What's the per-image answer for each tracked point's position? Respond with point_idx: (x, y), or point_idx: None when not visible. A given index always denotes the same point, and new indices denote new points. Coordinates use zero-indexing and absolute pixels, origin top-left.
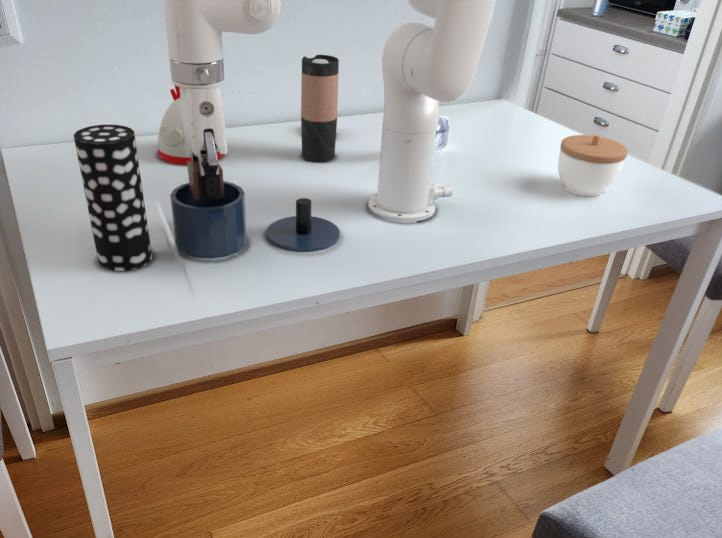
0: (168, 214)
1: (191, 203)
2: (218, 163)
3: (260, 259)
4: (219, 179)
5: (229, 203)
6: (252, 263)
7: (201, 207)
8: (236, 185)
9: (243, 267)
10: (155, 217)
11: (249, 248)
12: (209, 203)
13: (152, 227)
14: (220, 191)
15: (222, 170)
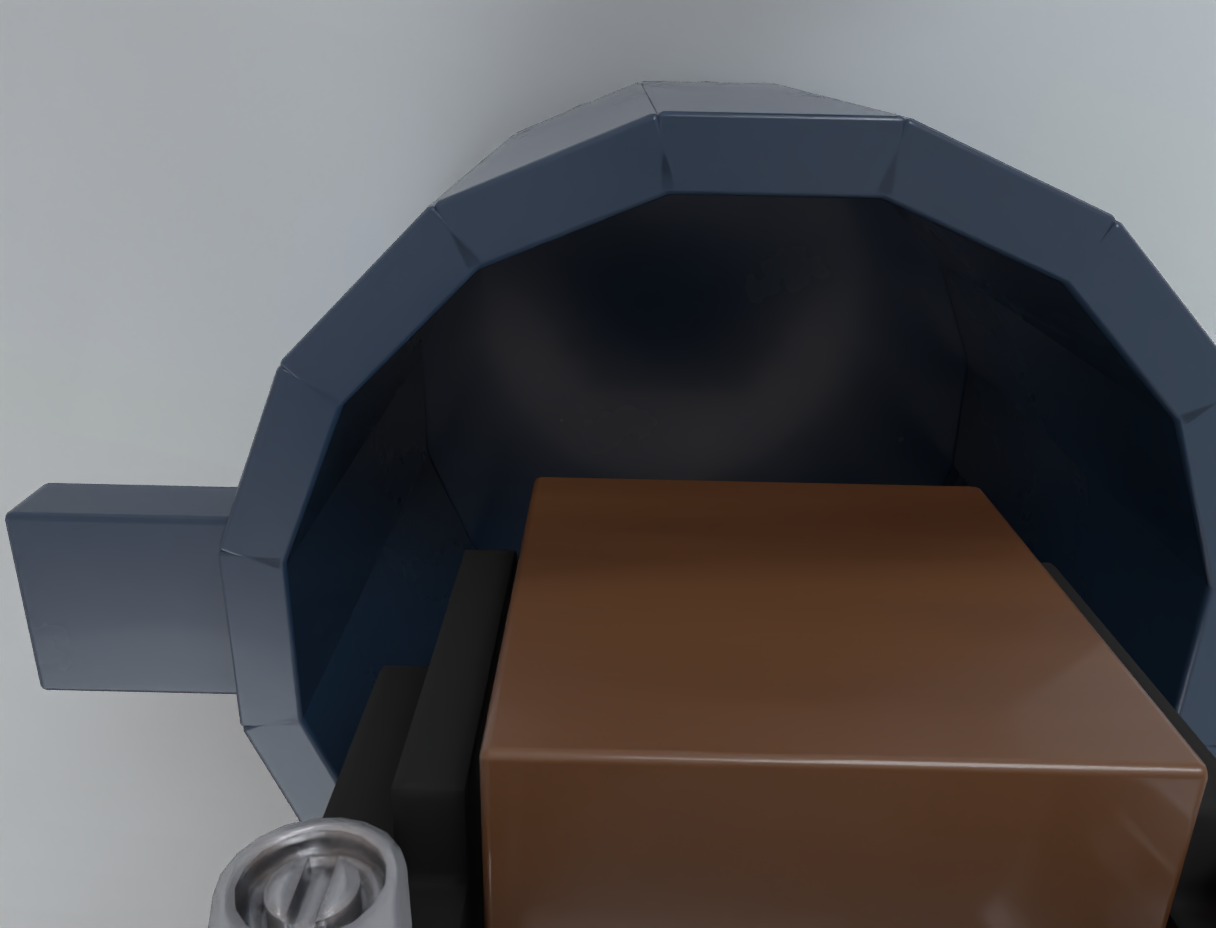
0: (20, 606)
1: (400, 642)
2: (824, 774)
3: (1136, 50)
4: (1192, 740)
5: (1196, 460)
6: (1170, 149)
7: None
8: (559, 170)
9: (1196, 248)
10: (68, 703)
11: (883, 90)
12: (371, 436)
13: (250, 749)
14: (1084, 608)
15: (1190, 750)
